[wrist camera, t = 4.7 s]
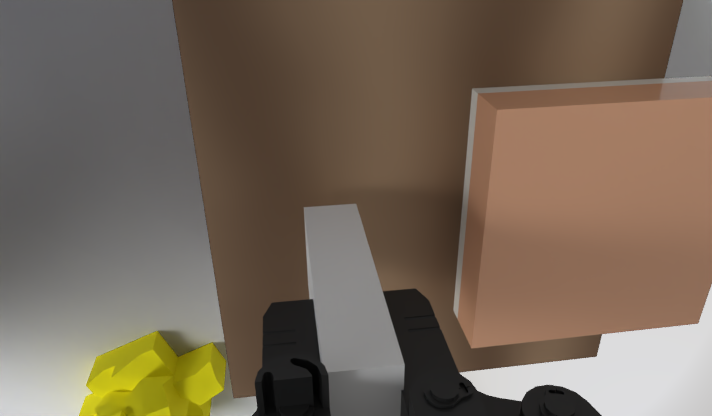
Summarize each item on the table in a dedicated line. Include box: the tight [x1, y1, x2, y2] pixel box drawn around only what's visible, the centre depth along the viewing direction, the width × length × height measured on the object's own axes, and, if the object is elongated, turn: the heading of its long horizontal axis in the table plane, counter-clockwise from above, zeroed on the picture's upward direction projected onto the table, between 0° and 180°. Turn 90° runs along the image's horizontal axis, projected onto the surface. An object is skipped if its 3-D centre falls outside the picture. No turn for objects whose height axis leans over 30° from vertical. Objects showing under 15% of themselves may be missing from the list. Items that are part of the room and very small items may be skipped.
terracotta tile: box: [453, 76, 712, 348], centre depth 18 cm, size 8×8×2 cm
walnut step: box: [172, 0, 683, 398], centre depth 22 cm, size 14×14×10 cm
